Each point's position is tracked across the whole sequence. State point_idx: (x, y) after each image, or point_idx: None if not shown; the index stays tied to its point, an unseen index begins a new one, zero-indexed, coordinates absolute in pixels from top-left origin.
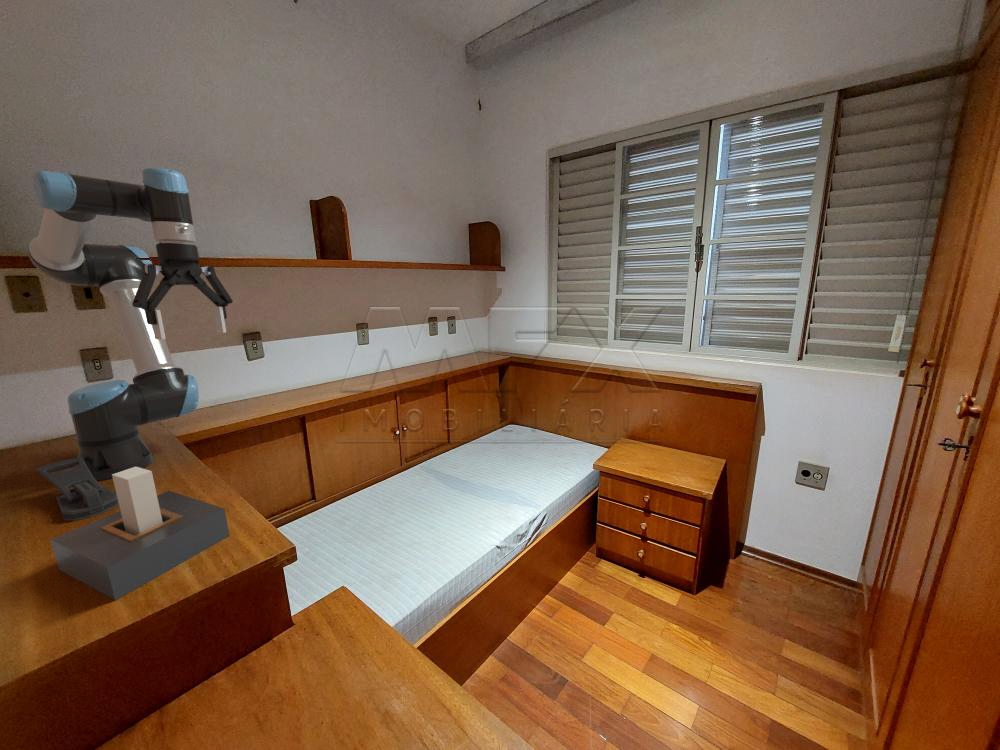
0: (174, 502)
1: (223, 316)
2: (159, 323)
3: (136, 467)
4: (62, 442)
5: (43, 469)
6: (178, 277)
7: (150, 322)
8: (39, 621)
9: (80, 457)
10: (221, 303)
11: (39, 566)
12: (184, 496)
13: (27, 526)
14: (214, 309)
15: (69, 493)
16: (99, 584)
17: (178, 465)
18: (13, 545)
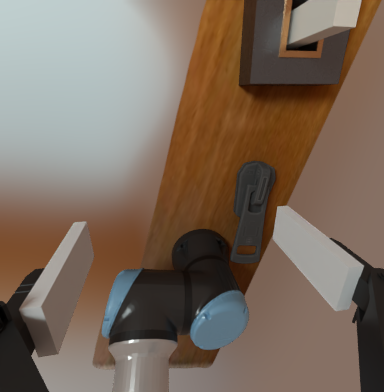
0: (266, 43)
1: (49, 264)
2: (318, 232)
3: (335, 20)
4: (188, 351)
5: (257, 255)
6: None
7: (339, 244)
8: (360, 16)
9: (231, 260)
10: (6, 333)
11: (317, 107)
12: (254, 47)
13: (284, 190)
14: (59, 329)
15: (266, 196)
16: None
17: (169, 209)
18: (303, 164)
